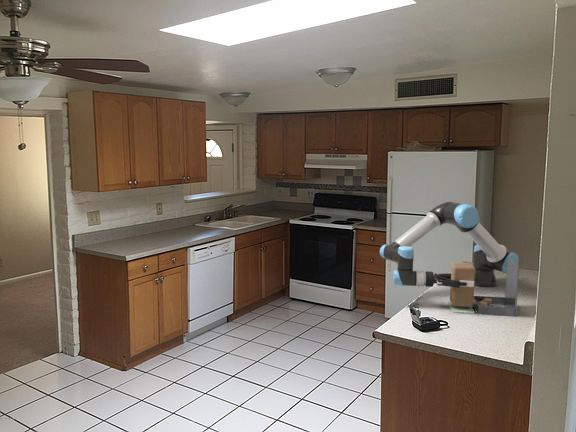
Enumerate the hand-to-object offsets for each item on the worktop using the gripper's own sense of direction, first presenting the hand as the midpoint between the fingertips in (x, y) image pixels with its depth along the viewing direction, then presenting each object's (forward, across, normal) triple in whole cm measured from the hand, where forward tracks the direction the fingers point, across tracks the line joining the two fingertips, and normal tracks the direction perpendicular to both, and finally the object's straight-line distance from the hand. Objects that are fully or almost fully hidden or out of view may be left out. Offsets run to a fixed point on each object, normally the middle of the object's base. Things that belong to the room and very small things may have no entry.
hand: (471, 280), depth 246 cm
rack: (+11, 0, -14) cm, 18 cm away
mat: (-4, 0, -14) cm, 15 cm away
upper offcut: (+7, 0, -12) cm, 14 cm away
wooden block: (-4, 0, -12) cm, 13 cm away
